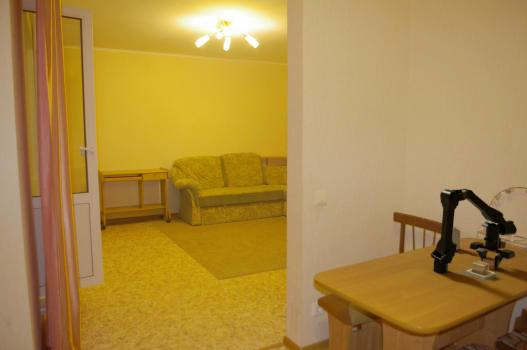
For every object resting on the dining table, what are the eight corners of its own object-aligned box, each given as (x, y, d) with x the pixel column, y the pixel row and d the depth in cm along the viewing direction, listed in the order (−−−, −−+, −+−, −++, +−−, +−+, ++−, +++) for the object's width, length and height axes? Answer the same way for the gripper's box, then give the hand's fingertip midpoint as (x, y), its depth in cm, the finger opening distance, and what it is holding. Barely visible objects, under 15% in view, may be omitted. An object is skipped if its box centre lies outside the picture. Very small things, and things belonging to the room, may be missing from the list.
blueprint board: (485, 283, 171) (485, 279, 170) (460, 274, 181) (460, 270, 181) (500, 277, 177) (500, 273, 176) (475, 269, 187) (475, 265, 187)
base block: (482, 276, 175) (483, 266, 175) (471, 273, 180) (472, 262, 179) (488, 274, 178) (489, 264, 177) (478, 270, 182) (478, 260, 181)
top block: (492, 271, 183) (493, 261, 182) (482, 268, 187) (482, 258, 187) (498, 269, 186) (499, 259, 185) (488, 266, 190) (488, 256, 189)
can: (462, 250, 213) (463, 229, 211) (448, 251, 213) (449, 230, 211) (455, 246, 220) (456, 226, 218) (442, 246, 220) (443, 226, 219)
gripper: (522, 237, 180) (520, 269, 182) (482, 228, 196) (481, 258, 198) (509, 241, 175) (507, 274, 177) (469, 232, 191) (468, 262, 193)
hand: (490, 267), depth 186 cm, fingers closed on top block, 5 cm apart
